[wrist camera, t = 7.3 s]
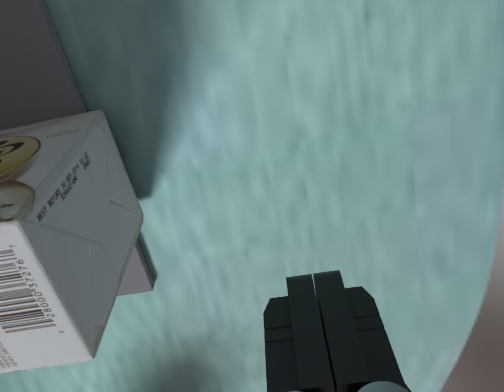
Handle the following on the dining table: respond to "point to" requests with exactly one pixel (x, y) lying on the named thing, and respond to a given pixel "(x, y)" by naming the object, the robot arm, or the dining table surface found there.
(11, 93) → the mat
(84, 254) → the coffee box
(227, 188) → the dining table surface
